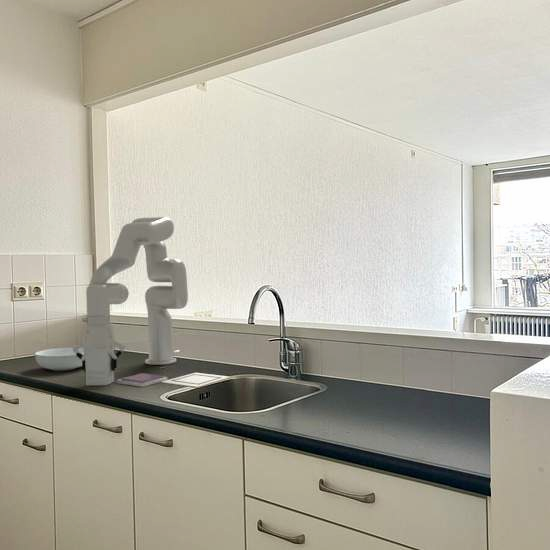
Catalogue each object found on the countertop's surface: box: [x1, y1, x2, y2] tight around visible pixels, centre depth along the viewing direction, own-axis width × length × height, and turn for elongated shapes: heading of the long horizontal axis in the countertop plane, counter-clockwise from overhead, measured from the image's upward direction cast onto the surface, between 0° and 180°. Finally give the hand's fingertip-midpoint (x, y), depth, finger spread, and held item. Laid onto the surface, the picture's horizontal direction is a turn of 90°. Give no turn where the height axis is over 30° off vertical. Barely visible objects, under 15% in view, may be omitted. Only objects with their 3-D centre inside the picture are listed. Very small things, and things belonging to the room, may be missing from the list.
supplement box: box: [85, 348, 115, 386], centre depth 196 cm, size 7×7×13 cm
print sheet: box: [160, 372, 231, 389], centre depth 199 cm, size 18×16×1 cm
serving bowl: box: [34, 347, 84, 372], centre depth 225 cm, size 21×21×7 cm
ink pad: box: [116, 373, 168, 388], centre depth 198 cm, size 12×12×2 cm
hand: (99, 370), depth 196 cm, fingers closed on supplement box, 8 cm apart
